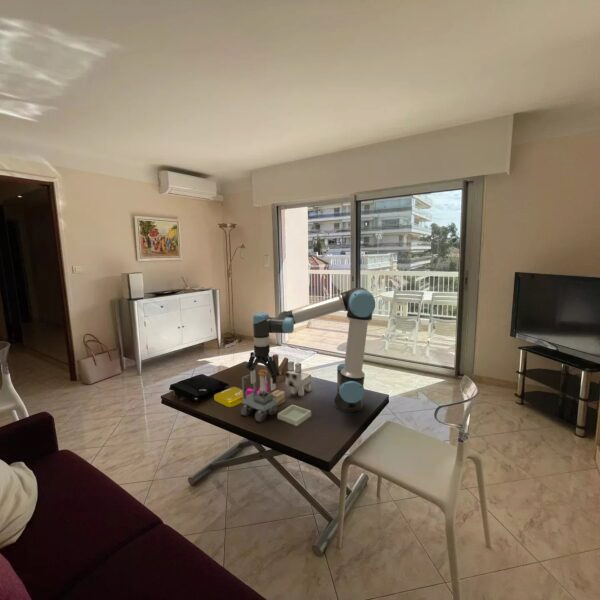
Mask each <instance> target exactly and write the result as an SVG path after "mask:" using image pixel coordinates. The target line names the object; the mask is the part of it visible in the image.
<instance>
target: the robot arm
mask: <svg viewBox="0 0 600 600" xmlns="http://www.w3.org/2000/svg"><path fill="white" fill-rule="evenodd" d="M375 308H376V300H375V297H374V295H373V293H371V292H370V291H369V290H367V289H365V288H364V287H361V286H360V287H354V288H351V289H349V290H347V291H343V292H341V293H339V294H338V295H337V296H334V297H331V298H326V299H324V300H320V301H317V302H313V303H310V304H306V305H304V306H300V307H297V308H294V309H291V310H287V311H286V310H283V311H282V312H280V313H279V314H278V315H277V317H276V316H275V317H270V316H269V313H268V312H257V313H254V314H253V317H252V319H253V320H252V327H253V329H252V330H253V345H254V346H253V351H251V352H250V353H249V354H250V356H249V359H248V362H247V365H246V369H247V370H248V371H249V374H250V376H251V377H250V384H252V385H253V383H255V382H256V383H257V374H256V375H255V372H256V367H257V366H258V364H262V365H264V367H266V370H267V372H268V373H269V374H270V376H271V377H270V391H275V390H276V388H277V387H276V385H277V383H276V377H277V376H279V375H281V373H280V371H278V368H277V366H276V363H275V360H274V356H273V355H270V351H271V350H270V349H271V348H270V334H292V333H293V332H294V327H295V325H297V324H300V323H303V322H306V321H309V320H312V319H317V318H321V317H325V316H326V315H327V316H328V315H330V314H334V313H338V312H341V311H343V312H346V318H347V319H348V321H349V323H348V330H347V338H346V339H347V340H346V349H345V357H344V358H345V359H344V362H342V363H339V364H338V365H337V367H336V368H337V369H336V371H337V373H336V375H337V377H336V379H337V381H336V382H337V383H336V384H337V386H336V387H337V388H336V389H337V391H336V395H335V398H334V400H333V404H334V405H333V406H335V407H334V408H335V409H336V410H338V411H340V412H343V411H345V412H344V413H356V412H355V411H357V412H360V411H361V410H362V409H363V400H362V399H363V397H364V396H365V388H364V386H365V385H364V383H365V377H366V375H365V373H364V371H363V366H364V365H363V364H364V357H365V350H366V348H365V347H366V340H367V333H368V332H367V331H368V323H369V322H371V321H372V319H373V312H374V311H375ZM273 374H274V375H273Z"/></svg>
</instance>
